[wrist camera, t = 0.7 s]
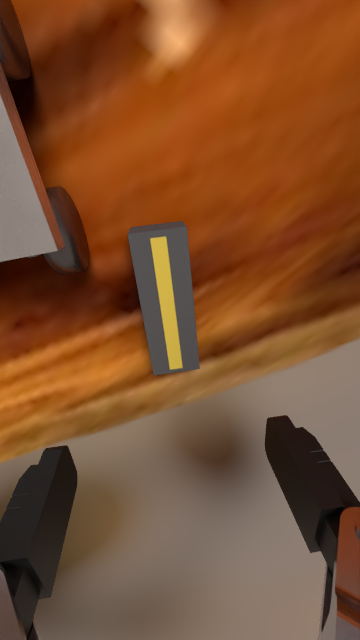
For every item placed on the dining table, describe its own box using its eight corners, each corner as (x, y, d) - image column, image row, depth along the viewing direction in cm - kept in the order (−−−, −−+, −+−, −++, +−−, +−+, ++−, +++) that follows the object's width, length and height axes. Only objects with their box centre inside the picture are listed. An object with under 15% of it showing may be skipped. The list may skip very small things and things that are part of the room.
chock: (131, 227, 24) (127, 234, 20) (181, 220, 24) (186, 226, 20) (153, 352, 29) (153, 376, 26) (193, 346, 30) (199, 369, 26)
